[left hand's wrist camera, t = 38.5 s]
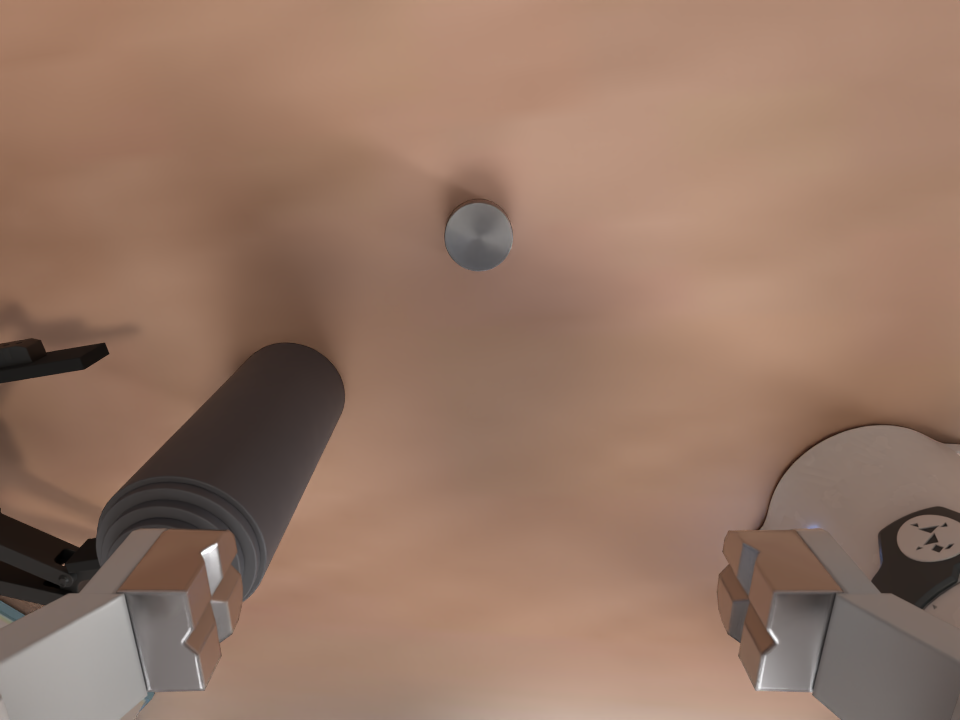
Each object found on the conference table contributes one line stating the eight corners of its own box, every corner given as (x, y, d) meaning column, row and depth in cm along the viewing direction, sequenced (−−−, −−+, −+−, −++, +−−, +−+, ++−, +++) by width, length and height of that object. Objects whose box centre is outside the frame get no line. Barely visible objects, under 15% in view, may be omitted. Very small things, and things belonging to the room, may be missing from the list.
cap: (438, 208, 42) (436, 211, 40) (503, 191, 42) (504, 195, 40) (455, 271, 44) (454, 278, 42) (517, 256, 43) (519, 262, 41)
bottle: (360, 368, 46) (250, 591, 24) (324, 455, 49) (194, 730, 27) (256, 325, 45) (42, 519, 23) (225, 416, 48) (4, 671, 25)
